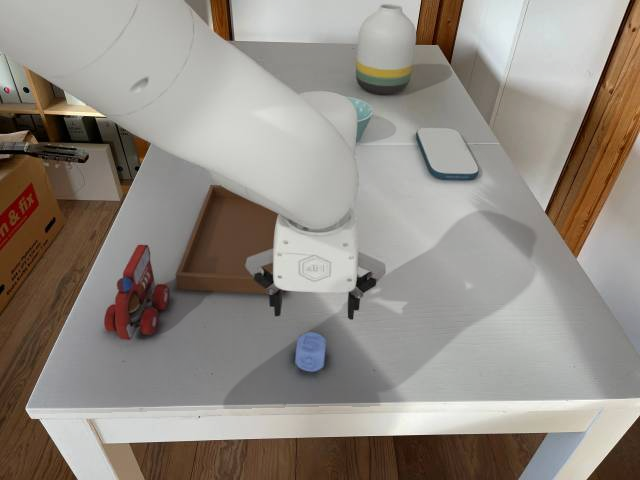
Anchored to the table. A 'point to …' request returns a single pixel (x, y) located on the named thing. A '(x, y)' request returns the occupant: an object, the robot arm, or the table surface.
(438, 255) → the table surface
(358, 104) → the bowl
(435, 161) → the external hard drive
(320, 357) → the decorative dice
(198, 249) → the tray
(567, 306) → the table surface
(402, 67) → the vase
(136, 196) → the table surface
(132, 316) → the toy fire truck
